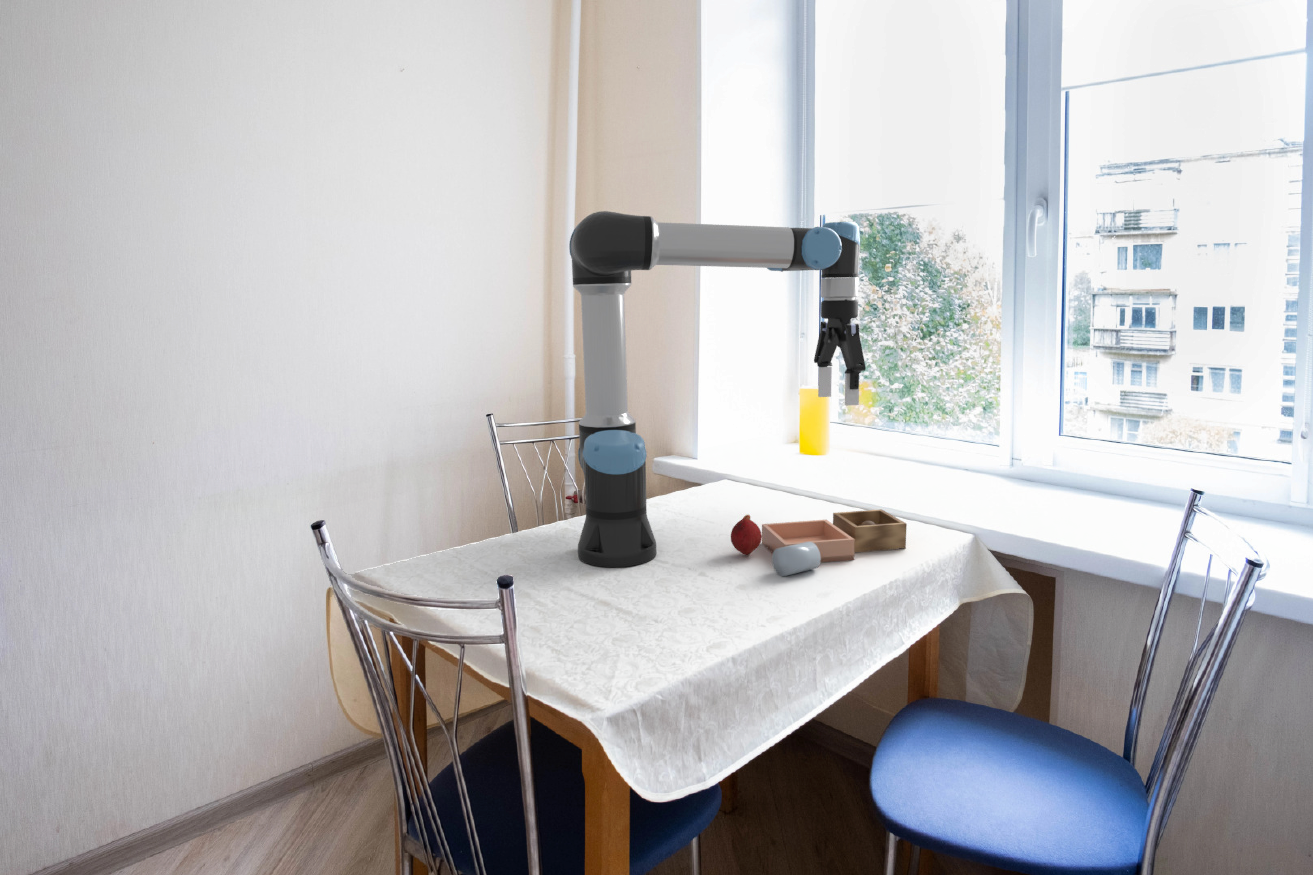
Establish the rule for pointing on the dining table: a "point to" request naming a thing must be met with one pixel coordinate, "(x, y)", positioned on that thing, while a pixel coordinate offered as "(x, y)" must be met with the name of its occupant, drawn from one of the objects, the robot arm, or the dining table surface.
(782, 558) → the pale blue capsule
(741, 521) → the onion
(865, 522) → the chestnut
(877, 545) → the crate
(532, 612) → the dining table surface
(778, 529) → the tray
